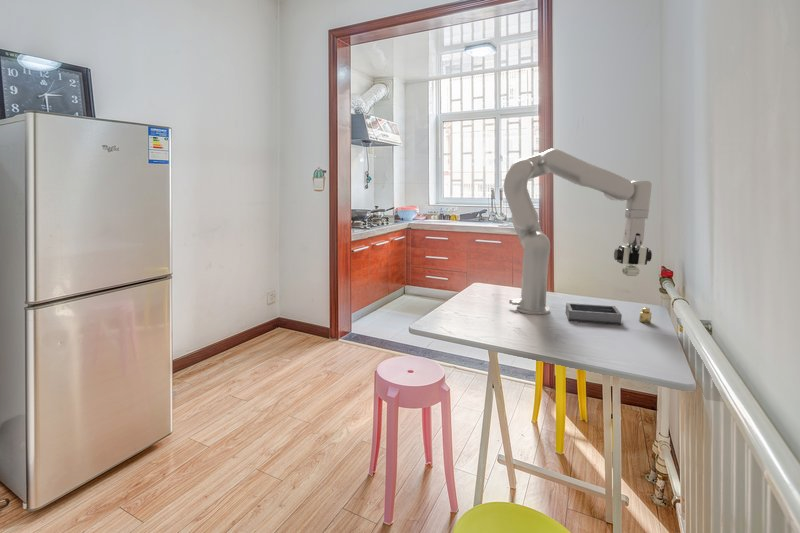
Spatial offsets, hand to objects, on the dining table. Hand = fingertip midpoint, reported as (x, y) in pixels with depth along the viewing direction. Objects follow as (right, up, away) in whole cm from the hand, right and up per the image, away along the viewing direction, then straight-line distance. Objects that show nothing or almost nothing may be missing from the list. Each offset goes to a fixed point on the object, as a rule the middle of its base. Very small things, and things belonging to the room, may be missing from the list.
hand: (631, 262), depth 158 cm
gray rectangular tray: (-16, -21, -2) cm, 26 cm away
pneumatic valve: (0, -5, +1) cm, 5 cm away
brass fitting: (+2, -22, -6) cm, 23 cm away
